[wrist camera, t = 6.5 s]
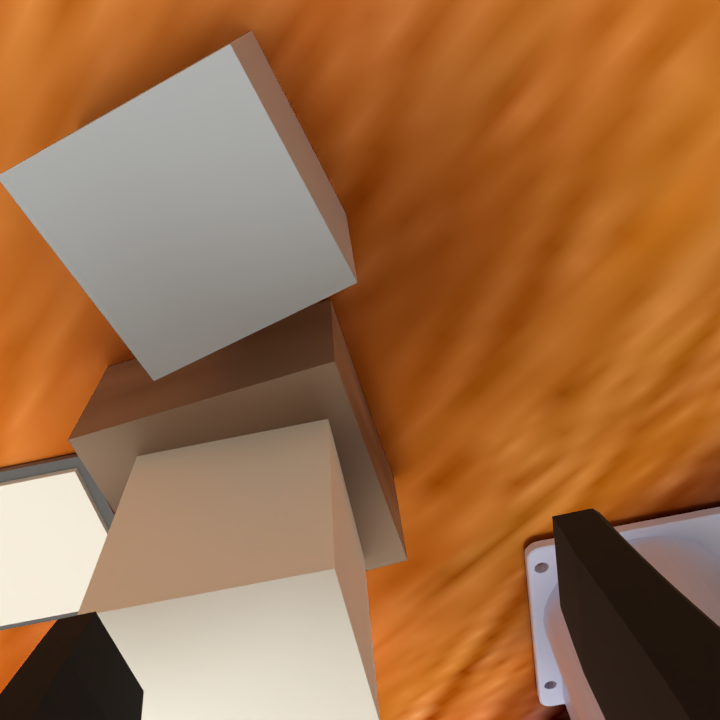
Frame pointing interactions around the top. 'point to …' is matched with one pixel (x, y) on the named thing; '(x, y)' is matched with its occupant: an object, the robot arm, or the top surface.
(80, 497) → the swatch
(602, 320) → the top surface
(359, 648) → the cream cube
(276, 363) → the walnut slab
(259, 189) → the slate cube
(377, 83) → the top surface
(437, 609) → the top surface
